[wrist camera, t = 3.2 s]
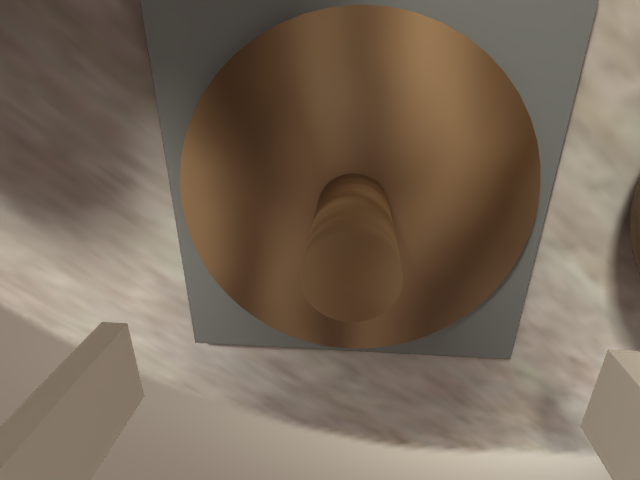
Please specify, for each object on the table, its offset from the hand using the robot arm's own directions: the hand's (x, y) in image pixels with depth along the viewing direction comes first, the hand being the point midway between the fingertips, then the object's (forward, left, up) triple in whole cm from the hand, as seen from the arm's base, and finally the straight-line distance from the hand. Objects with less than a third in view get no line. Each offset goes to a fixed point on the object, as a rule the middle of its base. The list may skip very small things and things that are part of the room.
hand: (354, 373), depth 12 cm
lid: (0, 0, -14) cm, 14 cm away
